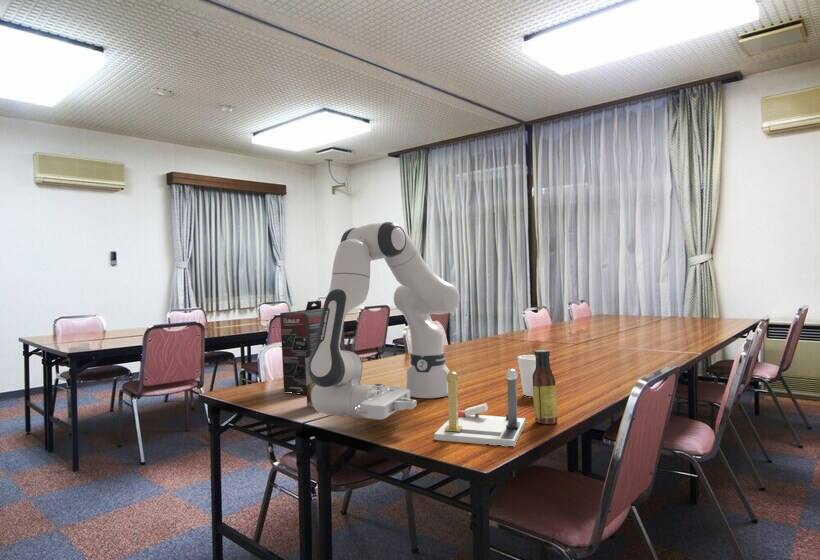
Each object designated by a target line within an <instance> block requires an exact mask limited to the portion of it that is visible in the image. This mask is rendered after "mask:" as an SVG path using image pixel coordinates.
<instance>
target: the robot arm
mask: <svg viewBox="0 0 820 560" xmlns="http://www.w3.org/2000/svg"><path fill="white" fill-rule="evenodd" d="M382 259H384V261H385V263H386V264H387V266H388V268H389V269H390V271H391V273H392V275H393V277H394V278H395V280H396V282H398V283H399V284H400V285H399V286H398V287H397V288H395V291H394V293H393V303H394V306H395V308H396V309H397V310H398V311H399V312H401V314H402V315H403V316H404V319H405V321H406V323H407V325H408V328H409V333H410V342H411V343H410V344H411V345H410V346H411V347H410V348H411V350H410V351H411V353H410V357H409V360H410V367H409V368H408V369H407V371H406V387H402V386H401V387H399V386H390V385H386V386H385V384H384V383H376V384H360V383H361V379H362V374H363V362H362V359H361V357H360V356H359V355H358V354H357V353H356V352H354V351H351V350H346V349H345V350H340V341H341V336H342V330H343V324H345V319H346V316H347V315H348V314H349V313H350V311H352V310H353V309H356V308H357V307H359V306H360V305H361V304H363V303H364V302H365V301H366V299H367V296H368V293H369V290H370V282H371V281H370V280H371V261H377V260H382ZM460 302H461V297H460V292H459V290H458V288H457V286H455V285H454V284H452V283H449V282H447V281H446V280H444V279H443V278H441V277H440V276H439V275H437V274H436V273H435V272H434V271H433V270H432V269H431V268H430V266H428V265H427V263H426V262H425V260H424V259H423V257H422V255H421V253H420V252H419V250H418V248H417V247H416V244H415V242H414V241H413V240H412V238H411V237H410V236H409V234H408V233H407V232H406V231H405V230H404V229H403V228H402V226H400V224H398V223H396V222H392V221H386V222H378V223H377V222H376V223H368V224H366V225H361V226H358V227H351V228H350V229H347V230H346V231H345V232H344V233H343V234H342V236H341V239H340V243H339V245H338V246H337V249H336V251H335V256H334V261H333V265H332V272H331V281H330V287H329V291H328V294H327V295H326V298H325V300H324V304H323V307H322V308H323V311H322V316H321V321H320V326H319V331H318V336H317V341H316V345H315V348H314V350H313V352H312V354H311V356H310V359H309V362H308V373H309V376H310V378H311V380H312V381H313V382H314V383H315V384H316V385H315V386H314V387H313V389H312V392H311V400H312V404H313V406H314V407H313V408H314V410H316V411H317V412H319V413H321V414H324V415H329V416H336V417H337V416H338V417H344V416H345V417H346V416H349V417H353V418H359V419H369V420H370V419H371V420H378V421H379V420H385V419H387V418H388V417H390V416H391V415H393V414H394V413H395V412H397V411H400V410H401V411H403V410H413V409H414V408H416V407H417V400H416V399H411V397H412V398H418V399H419V398H420V399H436V398H442V397H448V382H447V379H446V376H447V374H448V373H449V372H451V371H450V369H449V368H448V366H447V365H446V356H447V355H446V351H445V352H444V339H443V336H444V334H443V331H442V329H441V328H440V327H439V326H438V325H436V324H435V322H434V321H433V319H432V318H431V315H445V314H450V313H453V312H455V311H456V310H457V308H458V307H459V304H460Z"/></svg>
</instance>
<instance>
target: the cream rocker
mask: <svg viewBox="0 0 820 560" xmlns="http://www.w3.org/2000/svg"><path fill="white" fill-rule="evenodd" d="M488 410H489V406H488V404H487V403H486V402H485V403H482V404H478V405H474V406H471V407H467V408H465V411H464V412H465V415H466V417H467V416H470V415H475V414H478V413H479V414H481V413H485V412H487V411H488Z"/></svg>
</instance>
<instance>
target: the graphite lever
mask: <svg viewBox="0 0 820 560" xmlns="http://www.w3.org/2000/svg"><path fill="white" fill-rule="evenodd" d="M505 378H506V379H507V410H508V411H507V414H508V423H507V425H506V428H517V429H518V427H519V425H520V422H517V418H518V395H517V394H518V389H517V385H518V384H517V381H518V380H517V379H518V378H519V373H518V371H517V370H516V369H514V368H509V369H507V371H506V372H505Z"/></svg>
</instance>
